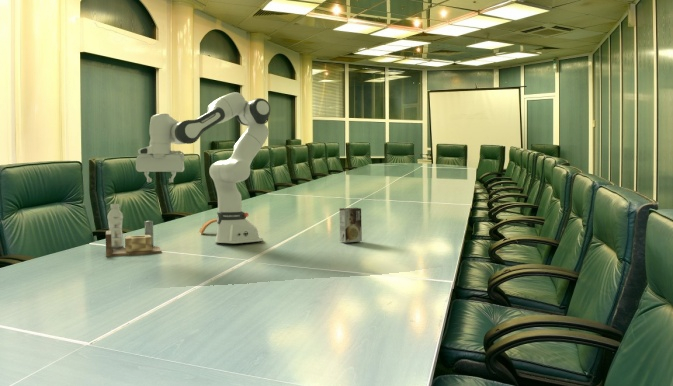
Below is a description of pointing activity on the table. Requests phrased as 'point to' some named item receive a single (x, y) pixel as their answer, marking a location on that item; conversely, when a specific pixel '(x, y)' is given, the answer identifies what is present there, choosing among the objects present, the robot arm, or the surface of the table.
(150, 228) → the dowel
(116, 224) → the plastic bottle
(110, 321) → the table surface
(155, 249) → the jig
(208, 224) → the arch
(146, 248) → the tan square frame
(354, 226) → the coffee box
